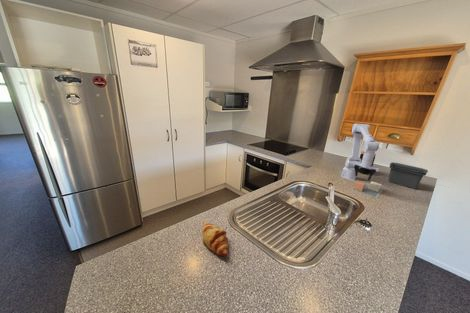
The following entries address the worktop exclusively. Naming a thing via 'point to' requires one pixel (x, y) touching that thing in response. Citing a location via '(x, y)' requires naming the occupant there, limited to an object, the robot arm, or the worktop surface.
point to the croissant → (215, 239)
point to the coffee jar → (365, 170)
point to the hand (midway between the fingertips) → (362, 177)
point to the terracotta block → (359, 186)
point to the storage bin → (406, 175)
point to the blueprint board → (371, 189)
